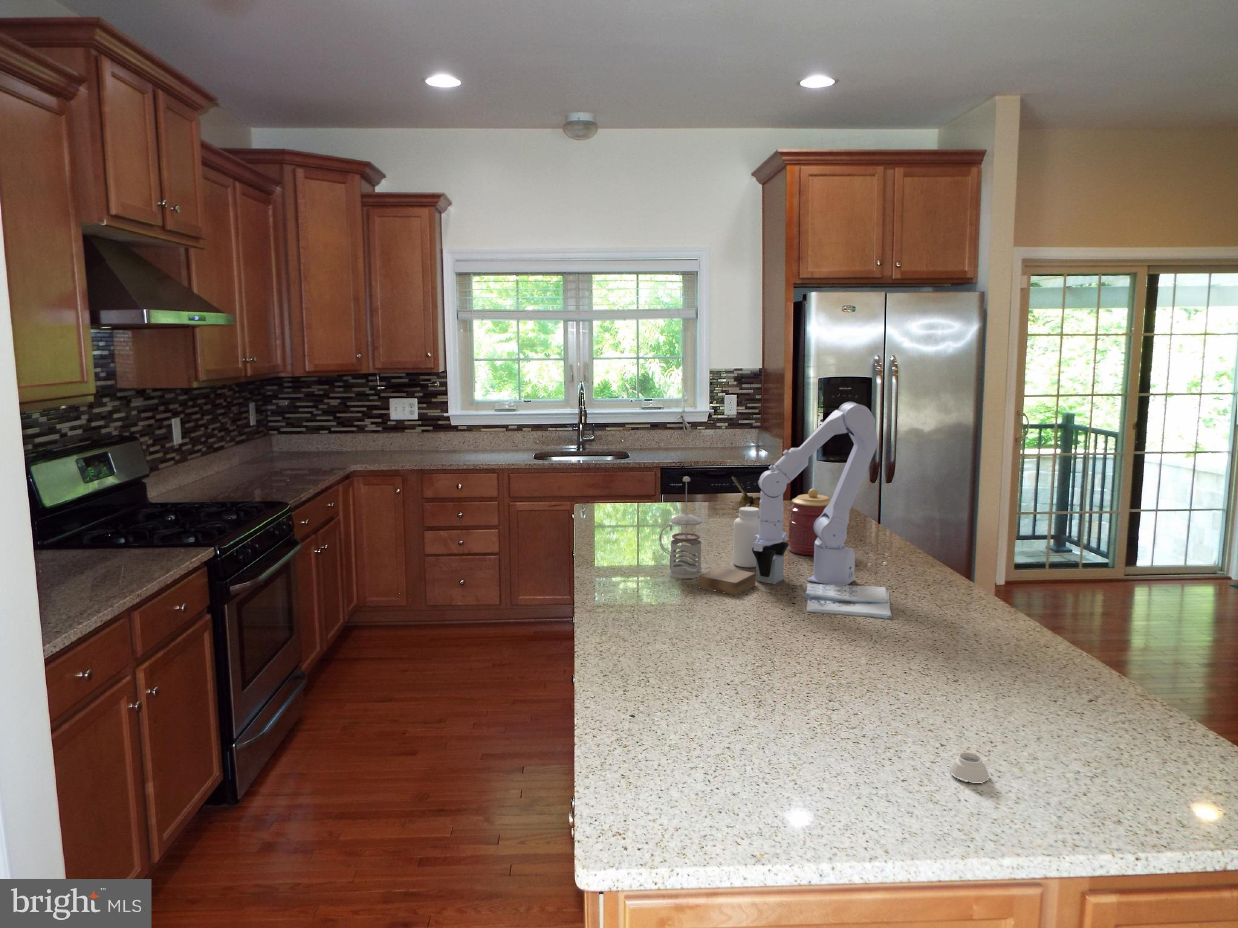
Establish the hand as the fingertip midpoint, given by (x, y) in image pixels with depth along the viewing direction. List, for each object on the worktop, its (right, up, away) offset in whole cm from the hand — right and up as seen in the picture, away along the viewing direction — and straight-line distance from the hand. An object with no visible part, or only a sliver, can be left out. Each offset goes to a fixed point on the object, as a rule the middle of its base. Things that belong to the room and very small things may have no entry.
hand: (769, 573), depth 213 cm
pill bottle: (-3, 0, +15) cm, 15 cm away
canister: (+17, +3, +29) cm, 33 cm away
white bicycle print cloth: (+14, -5, -17) cm, 23 cm away
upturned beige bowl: (+11, -17, -93) cm, 96 cm away
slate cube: (0, -2, 0) cm, 2 cm away
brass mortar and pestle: (+3, +5, +48) cm, 48 cm away
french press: (-21, -1, +7) cm, 22 cm away
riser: (-11, -2, -5) cm, 13 cm away
